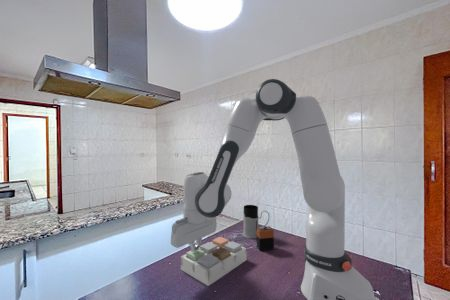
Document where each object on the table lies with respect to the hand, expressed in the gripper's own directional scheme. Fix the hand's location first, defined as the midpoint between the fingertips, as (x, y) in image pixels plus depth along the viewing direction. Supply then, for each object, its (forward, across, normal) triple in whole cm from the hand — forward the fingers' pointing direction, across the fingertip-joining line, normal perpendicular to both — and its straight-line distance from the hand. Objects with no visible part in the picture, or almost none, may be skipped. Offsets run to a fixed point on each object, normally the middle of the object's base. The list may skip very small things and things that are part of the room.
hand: (195, 250), depth 83 cm
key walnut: (+4, +7, -7) cm, 11 cm away
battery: (+7, +32, -12) cm, 35 cm away
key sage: (+4, 0, 0) cm, 4 cm away
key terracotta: (+4, +14, 0) cm, 14 cm away
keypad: (+7, +7, -4) cm, 11 cm away
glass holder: (+7, +41, -1) cm, 42 cm away
